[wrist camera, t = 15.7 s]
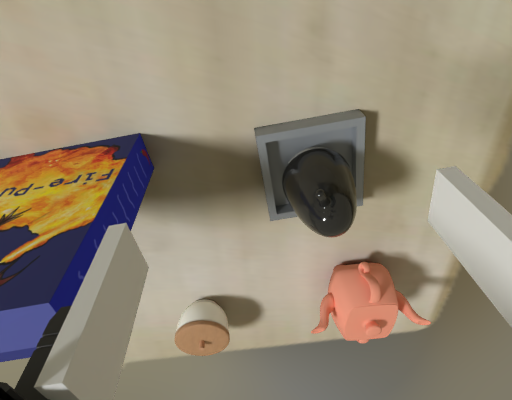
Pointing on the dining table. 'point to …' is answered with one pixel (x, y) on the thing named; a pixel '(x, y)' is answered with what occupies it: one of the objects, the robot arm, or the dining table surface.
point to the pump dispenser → (321, 190)
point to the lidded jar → (202, 329)
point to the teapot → (363, 302)
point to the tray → (302, 137)
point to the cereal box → (60, 227)
